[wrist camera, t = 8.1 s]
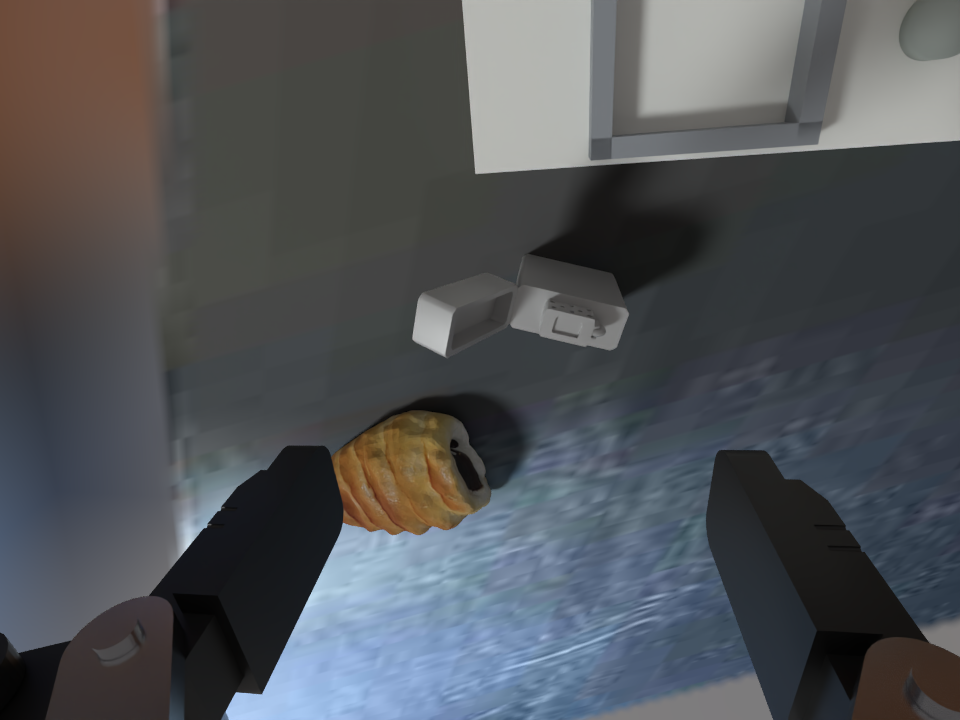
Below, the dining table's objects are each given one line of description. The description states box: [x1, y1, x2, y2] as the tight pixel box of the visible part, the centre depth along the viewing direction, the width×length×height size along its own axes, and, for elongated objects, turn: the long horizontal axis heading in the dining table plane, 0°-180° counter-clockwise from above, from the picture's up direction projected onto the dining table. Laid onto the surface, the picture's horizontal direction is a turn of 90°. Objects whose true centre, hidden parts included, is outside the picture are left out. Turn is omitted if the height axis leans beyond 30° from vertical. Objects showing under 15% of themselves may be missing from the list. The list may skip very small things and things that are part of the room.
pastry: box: [331, 410, 491, 535], centre depth 27 cm, size 9×7×4 cm
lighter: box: [412, 254, 629, 358], centre depth 19 cm, size 7×2×8 cm, turn 79°
